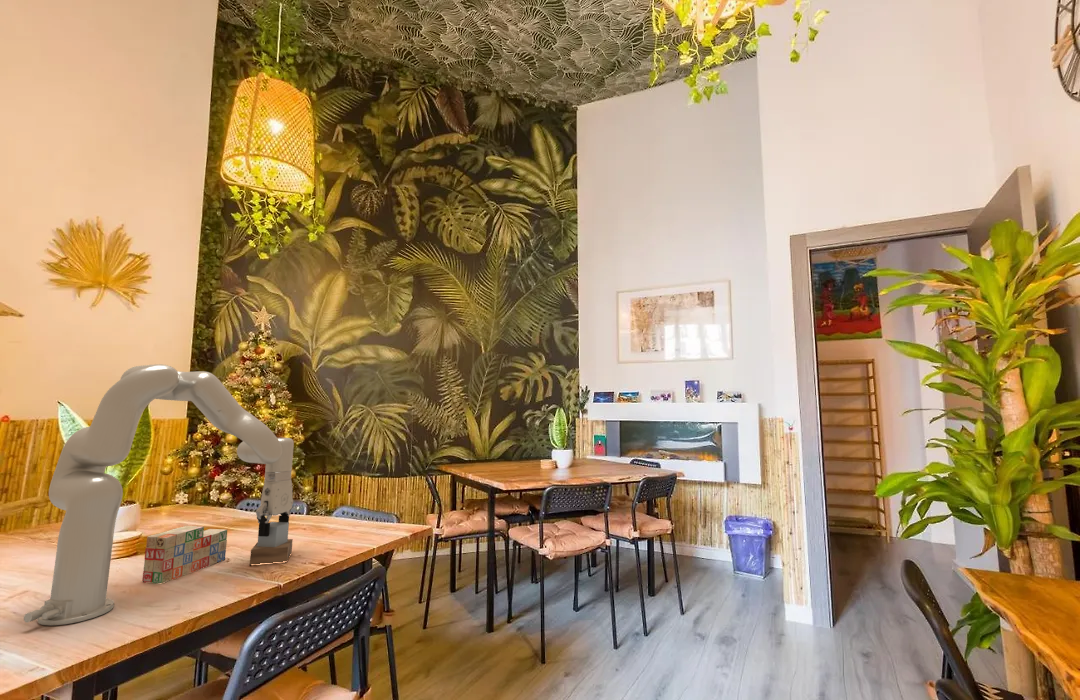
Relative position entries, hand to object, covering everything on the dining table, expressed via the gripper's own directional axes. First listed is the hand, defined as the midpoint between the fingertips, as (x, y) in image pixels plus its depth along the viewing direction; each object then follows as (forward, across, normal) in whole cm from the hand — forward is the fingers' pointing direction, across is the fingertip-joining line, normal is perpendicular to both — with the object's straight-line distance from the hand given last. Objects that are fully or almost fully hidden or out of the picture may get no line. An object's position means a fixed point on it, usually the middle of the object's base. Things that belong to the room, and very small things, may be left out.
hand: (273, 532), depth 151 cm
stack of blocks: (+9, -12, +18) cm, 23 cm away
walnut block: (+9, 0, 0) cm, 9 cm away
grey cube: (+4, 0, 0) cm, 4 cm away
